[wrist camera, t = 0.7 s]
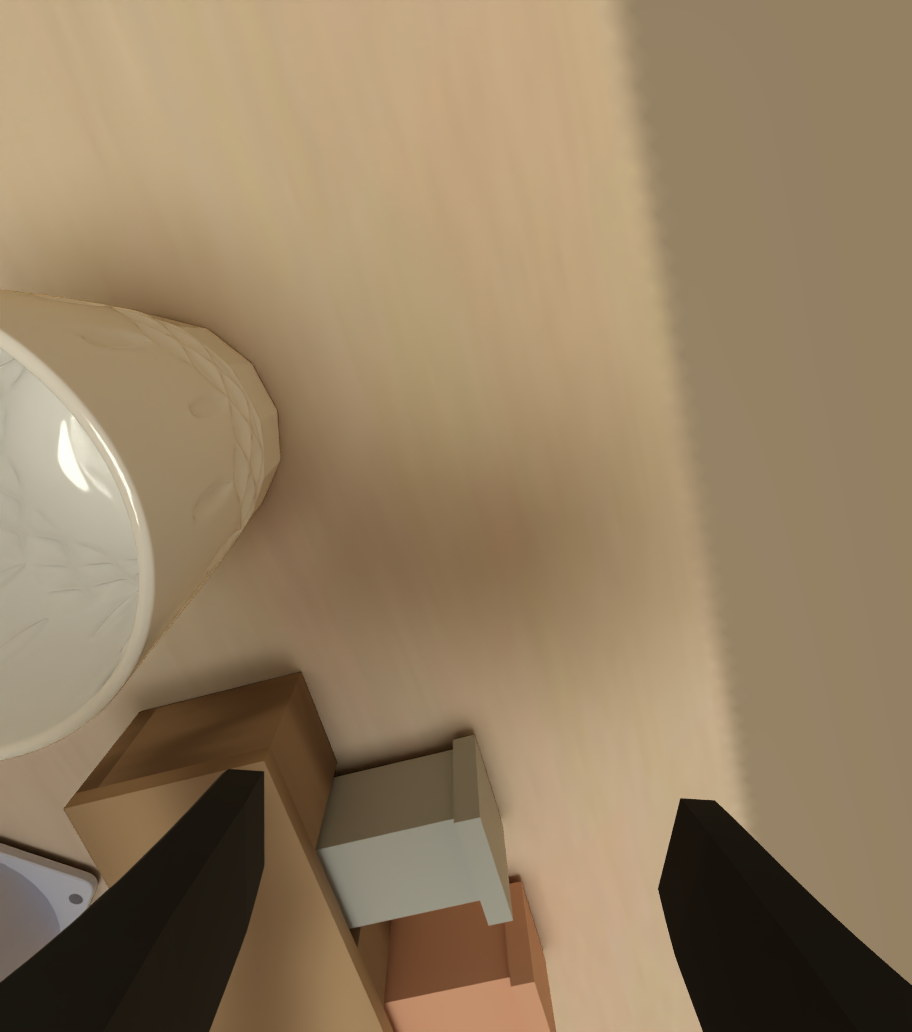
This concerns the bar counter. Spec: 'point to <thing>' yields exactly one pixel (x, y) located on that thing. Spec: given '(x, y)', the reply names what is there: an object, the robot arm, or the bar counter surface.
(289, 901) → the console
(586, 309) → the bar counter surface
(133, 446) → the white cup
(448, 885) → the plunger grey
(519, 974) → the flanged terracotta block
